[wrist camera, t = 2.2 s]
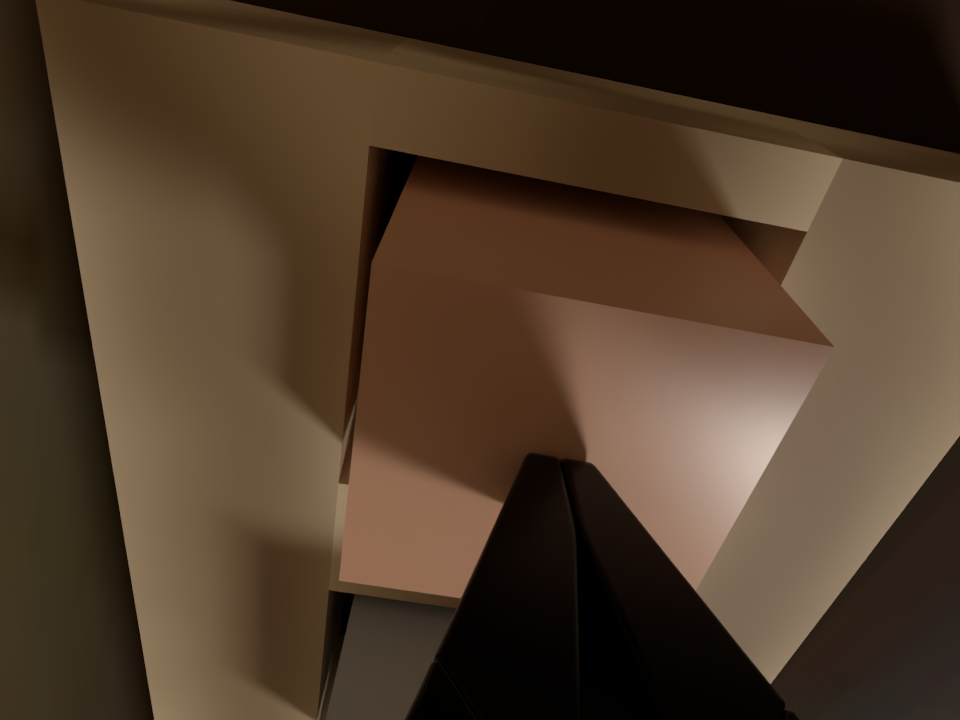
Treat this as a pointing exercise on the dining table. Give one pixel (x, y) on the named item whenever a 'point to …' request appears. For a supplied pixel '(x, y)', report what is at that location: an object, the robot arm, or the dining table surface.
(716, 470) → the brown cube
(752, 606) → the beige flat board
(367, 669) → the grey cube
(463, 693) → the robot arm
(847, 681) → the dining table surface
